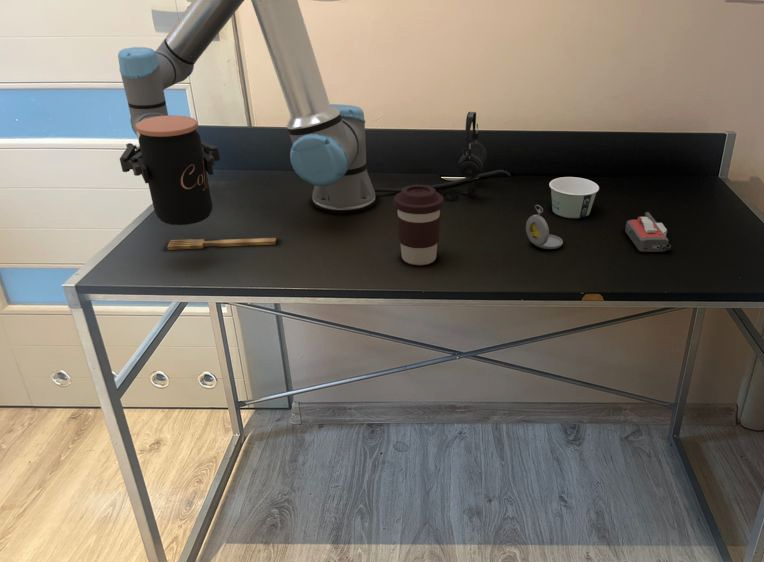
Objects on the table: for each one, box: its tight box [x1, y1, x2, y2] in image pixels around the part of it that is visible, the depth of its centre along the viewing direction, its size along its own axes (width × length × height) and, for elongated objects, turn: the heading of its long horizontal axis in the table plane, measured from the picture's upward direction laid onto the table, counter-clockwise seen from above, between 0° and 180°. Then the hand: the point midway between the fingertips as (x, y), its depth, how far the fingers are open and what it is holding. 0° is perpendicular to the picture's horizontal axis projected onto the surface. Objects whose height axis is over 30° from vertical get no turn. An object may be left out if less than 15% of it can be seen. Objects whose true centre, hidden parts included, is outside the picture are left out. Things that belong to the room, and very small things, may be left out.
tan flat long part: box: [166, 237, 277, 251], centre depth 150 cm, size 22×3×1 cm, turn 99°
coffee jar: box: [135, 114, 214, 226], centre depth 133 cm, size 11×11×18 cm
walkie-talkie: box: [625, 211, 672, 253], centre depth 160 cm, size 9×4×20 cm
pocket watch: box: [525, 204, 564, 250], centre depth 152 cm, size 8×8×10 cm
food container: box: [548, 176, 600, 219], centre depth 170 cm, size 12×12×6 cm
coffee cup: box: [393, 184, 444, 266], centre depth 143 cm, size 10×10×15 cm
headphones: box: [439, 111, 488, 201], centre depth 175 cm, size 15×11×20 cm
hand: (178, 171), depth 130 cm, fingers closed on coffee jar, 11 cm apart
